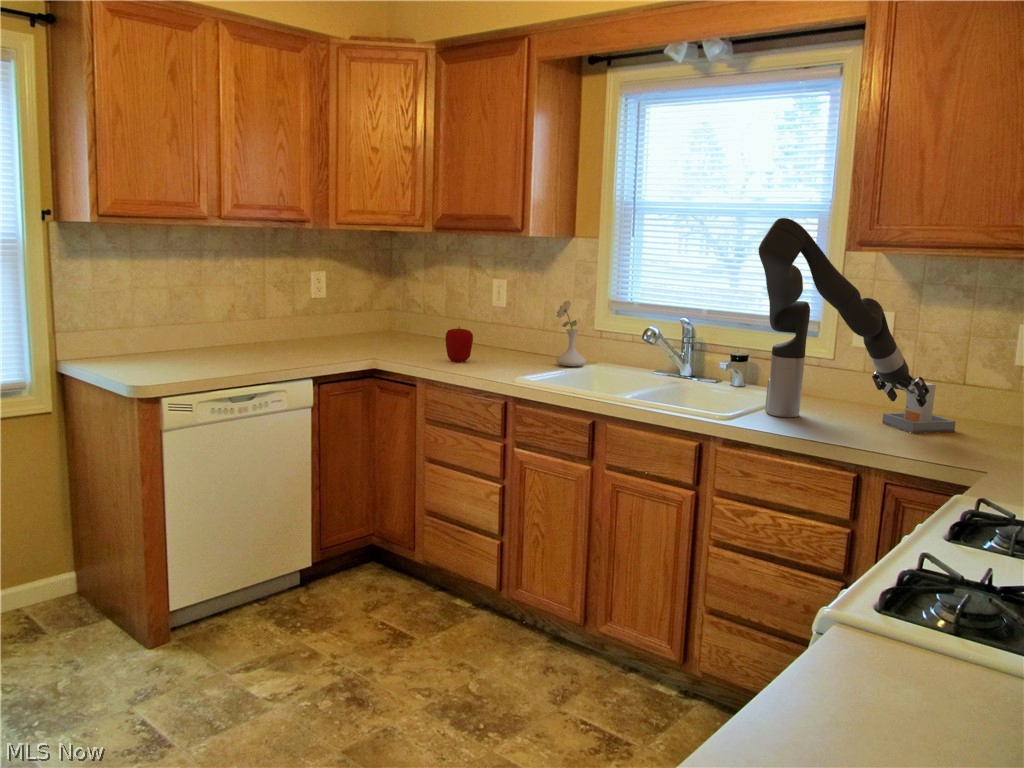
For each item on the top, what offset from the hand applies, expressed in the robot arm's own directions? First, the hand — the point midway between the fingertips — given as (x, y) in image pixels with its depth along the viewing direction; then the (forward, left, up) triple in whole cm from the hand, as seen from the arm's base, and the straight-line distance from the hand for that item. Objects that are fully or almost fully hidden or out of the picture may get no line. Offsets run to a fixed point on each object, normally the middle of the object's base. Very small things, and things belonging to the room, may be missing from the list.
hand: (908, 401), depth 241 cm
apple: (-126, -97, -8) cm, 159 cm away
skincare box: (-2, +5, -7) cm, 9 cm away
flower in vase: (-113, -57, -8) cm, 127 cm away
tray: (-2, +6, -8) cm, 10 cm away
